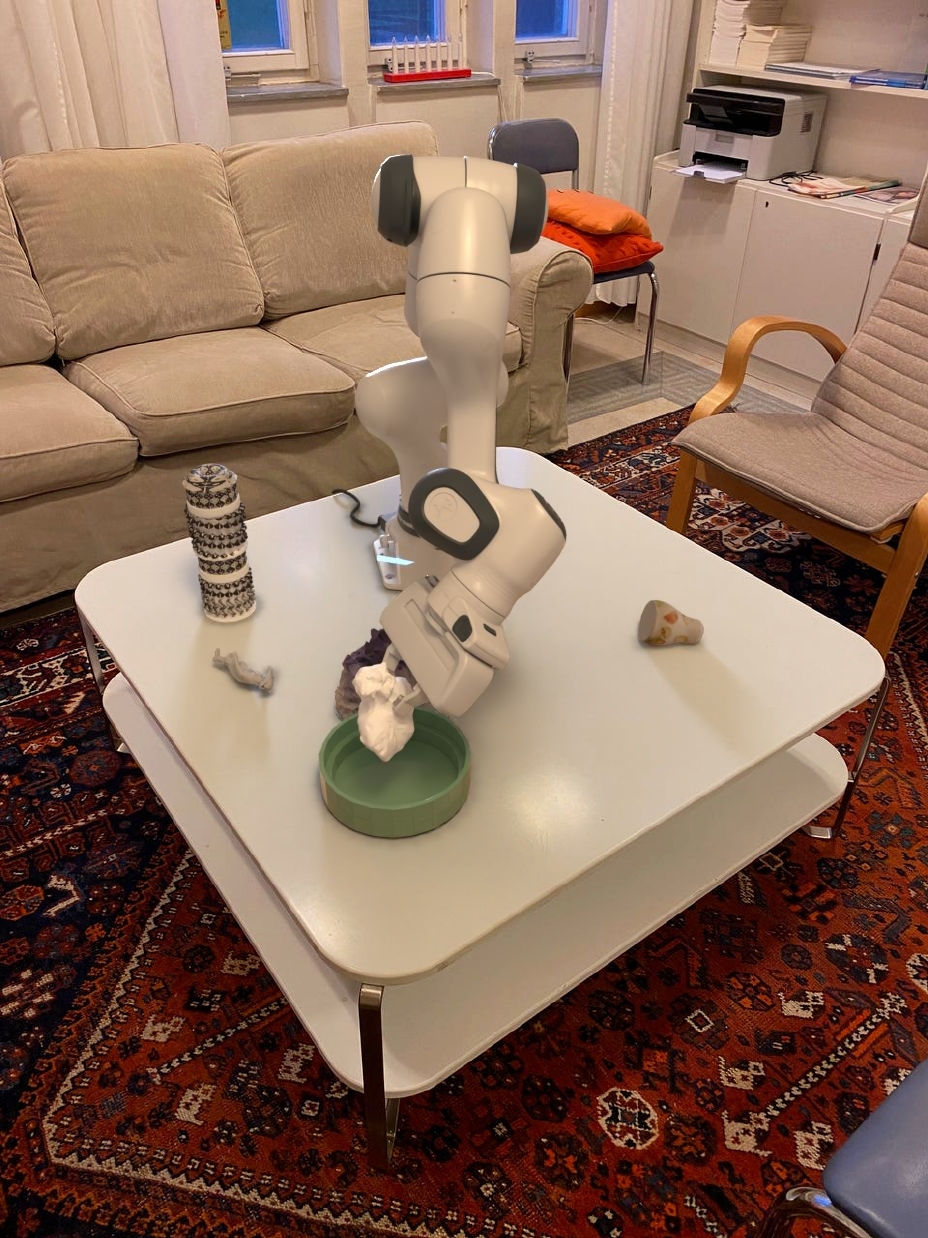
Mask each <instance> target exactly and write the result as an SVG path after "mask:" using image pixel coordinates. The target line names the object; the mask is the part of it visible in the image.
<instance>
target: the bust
mask: <svg viewBox="0 0 928 1238" xmlns="http://www.w3.org/2000/svg"><path fill="white" fill-rule="evenodd" d="M352 684H353V686H354V687H355V690H356V693H357V694H358V695H359V697H360V698H361V700H362V701H361V703H360V705H359V711H358V720H357V723H358V726H359V732H360V735H361V736H360V740H361V742H362V743H363V744H364V745H365V746H366V747H367V748H369V749H370V750H371V751H373V752H375V754H376V755H377V756H378V757H379V758H380V759H381V760H382V761H384V762H387V761H389V760H390V759H391V758H392V757H393V755H394V754H395V753H397V752H399V751H400V750H402V749H403V747H404V745H405V744H406V743H407V741H408V740H409V739H410V737H411V736H412V735H413V732H414V723H413V717H412V714H413V710H414V708H413V709H412V710H411V711H410V712H409V714H408V715H406V716H402V715H400V714H398V713H397V712H396V711H395V709H394V707H393V705H392V703H393V702H394V701H395V700H396V699H397V697H398V696H399V695H400V694H401V695H403V696H407V695H409V694H411V693H412V692H414V691H413V690H412V689H411V685H410V683H408V682H407V679H406V678H404V677H394V676H392V675H391V674H390V673H388V669H387V667H386V663H385V662H383V663H381V664H377V665H373V666H369V667H362V668H360V669H359V671H358V672H357V674H356V676H355V678H354V679H353V681H352Z"/></svg>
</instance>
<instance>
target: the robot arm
mask: <svg viewBox="0 0 928 1238" xmlns="http://www.w3.org/2000/svg"><path fill="white" fill-rule="evenodd" d="M379 166H380V167H379V170H378V172H377V174H376V176H375V178H374V181H373V183H372V184H373V185H372V188H371V194H370V206H371V213H372V216H373V221H374V222H375V224H376V230H377V232H378V233H379V234H380V236H381V237H382V238H383V239H384V240H385V241H387V242H389V243H391V244H393V245H396V246H399V247H403V248H407V247H408V246H409V250H408V259H407V270H406V279H405V280H406V281H405V293H404V294H405V295H404V305H403V306H404V307H403V308H404V309H403V316H404V319H405V321H406V324H407V326H408V328H409V329H410V331H411V332H412V333H413V334H414V335H415V336H416V337H417V338H419V341H420V345H421V347H422V350H423V352H424V354H425V355H423V356H421V357H415V358H412V359H407V360H403V361H399V362H393V363H390V364H386V365H384V366H382V367H380V368H378V369H376V370H374V371H372V372H370V373H367V374H366V375H364V376H363V377H361V379H360V380H359V381H358V384H357V387H356V389H355V394H354V407H355V412H356V416H357V418H358V420H359V422H360V424H361V425H362V426H363V428H364V429H365V430H366V431H367V432H368V433H369V434H370V435H371V436H373V437H374V438H377V439H379V440H380V441H382V442H383V443H385V444H386V445H387V446H388V447H389V449H390V450H391V451H392V453H393V455H394V457H395V459H396V463H397V466H398V473H399V483H400V494H399V497H401V498H399V500H398V501H399V504H398V507H397V510H396V511H393V512H390V513H386V514H380V515H379V516H378V517H377V522H376V523H368V522H365V521H362V520H360V519H358V518H357V517H356V516H355V513H356V512H357V511H358V510H359V508H360V507H361V501H360V499H359V498H358V497H357V496H355V494H353V493H352V492H350V491H348V490H346V489H344V488H343V489H342V488H335V489H333V490H332V491H331V494H333V495H335V494H337V493H340V494H341V493H342V494H344V495H346V496H348V497H349V498H351V499H352V500H353V501H354V502H355V503H356V505H355V506H354V507H353V509H352V510H351V511H350V512H349V513H350V514H349V517H350V519H351V520H352V521H353V522H354V523H356V524H358V525H360V526H363V527H367V528H372V529H373V528H379V527H380V530H381V531H383V532H384V534H380V535H379V538H378V539H376V540H374V542H373V544H372V549H373V552H374V556H375V559H376V564H377V566H378V571H379V573H380V577H381V581H382V584H383V587H384V588H385V589H387V590H392V591H393V590H394V591H400V592H399V594H398V595H396V597H395V598H394V599H392V600H391V602H390V603H388V604H387V606H386V607H385V608H384V609H383V610H382V612H381V614H380V617H379V624H380V625H381V627H382V629H384V630H385V632H386V633H387V635H388V636H389V638H390V640H391V641H392V643H391V644H390V645H389V647H388V648H387V650H386V653H385V655H384V658H383V661H382V663H383V662H385V663H386V667H387V669H388V673H390V674H391V675H392V676H394V677H395V676H396V675H395V673H394V671H395V669H396V667H397V665H398V663H399V661H400V659H401V660H404V662H405V663H406V665H407V666H408V668H409V669H410V671H411V673H412V674H413V676H414V677H415V679H416V680H417V684H416V685H415V686H414V687H413V690H414V692H412V693H411V694H409V695H407V696H403V695H401V694H400V695H399V696H398V697H397V699H396V700H395V701H394V702H393V703H392V705H393V707H394V709H395V711H396V712H397V713H398V714H400V715H402V716H406V715H408V714H409V712H410V711H411V710H412V709H413V708H414V707H417V706H419V707H420V706H422V705H424V704H426V703H427V704H428V703H430V704H431V706H432V707H433V708H434V710H435V711H437V712H438V713H440V714H442V715H444V716H446V717H448V718H452V719H453V718H459V717H461V716H462V715H464V714H465V713H466V712H467V711H468V710H469V709H470V708H471V707H472V706H473V705H474V703H476V701H477V700H478V699H479V697H481V696H482V694H483V693H484V692H485V691H486V689H487V688H488V687H489V685H490V683H491V682H492V680H493V677H494V670H495V669H497V670H499V671H500V670H502V669H504V668H505V667H506V666H507V665H508V663H509V661H510V660H511V656H510V652H509V647H508V644H507V640H506V637H505V633H504V632H505V631H504V626H503V623H504V621H505V620H506V619H507V618H508V617H509V616H510V614H511V612H512V610H513V608H514V606H515V604H517V602H518V601H519V600H520V598H522V597H523V596H524V595H526V594H528V593H529V592H531V591H532V590H533V589H534V588H535V586H536V585H538V583H539V582H540V581H541V580H542V579H543V577H544V576H545V575H546V573H547V572H548V571H549V569H551V568H552V566H553V564H555V562H556V561H557V559H558V558H559V556H560V555H561V553H562V551H563V549H564V548H565V546H566V543H567V536H568V535H567V529H566V526H565V523H564V522H563V521H562V518H561V516H559V514H558V513H557V512H556V511H555V509H554V507H552V505H551V504H550V503H549V502H548V501H547V500H546V499H545V497H544V496H543V495H542V494H541V493H539V492H538V491H537V490H535V489H534V488H531V487H529V488H527V487H526V488H519V487H513V486H508V485H505V484H501V483H500V482H499V478H498V472H497V471H498V470H497V425H498V424H497V421H498V417H497V416H498V411H497V410H498V408H499V407H500V406H502V405H503V404H504V402H505V401H506V399H507V395H508V392H509V388H510V387H509V386H510V385H509V384H510V382H509V381H510V380H509V373H508V369H507V367H506V364H505V362H504V361H503V355H504V349H505V343H506V338H507V331H508V323H509V316H510V315H509V314H510V305H511V303H510V302H511V288H512V287H511V285H512V283H511V282H512V263H511V262H512V260H511V255H517V254H522V253H526V252H529V251H530V250H532V249H533V248H534V247H535V246H536V245H537V244H538V243H539V241H540V239H541V237H542V234H543V232H544V230H545V227H546V224H547V221H548V218H549V217H548V216H549V206H550V205H549V196H548V193H547V186H546V181H545V179H544V178H543V176H542V175H541V173H540V171H539V170H537V169H535V168H534V167H531V166H527V165H525V164H521V163H519V162H518V163H517V162H514V164H509V163H506V162H502V161H497V160H494V159H489V158H488V159H487V158H482V157H477V156H468V155H463V157H462V156H461V157H460V156H448V155H447V156H446V155H445V156H444V155H426V156H425V155H423V156H413V154H412V153H404V154H397V155H391V156H388V157H387V158H386V159H385V160H383V162H382V163H381V164H380V165H379ZM445 427H446V443H445V442H443V441H441V431H442V430H443V428H445ZM494 668H495V669H494Z"/></svg>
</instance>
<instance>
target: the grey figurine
mask: <svg viewBox="0 0 928 1238" xmlns="http://www.w3.org/2000/svg"><path fill="white" fill-rule="evenodd" d="M238 658H239V656H238V653H237V651H236V650H235V651H232V652H230V653H228V655H226V656H221V649H220V647H216V648H215V650H214V656H212V659H211V660H212V662H213V663H214V662H218V663H220V664H223V665H224V666H225V667H226V666H227V668H228V670H229V672H230V675H232V677H233V678H234V680H235V681H237V682H239V683H240V684H249V685H253V686H255V687H258V689H259V690H261V689H262V690H266V691H268V693H269V694H270V693H271V692H272V691H273V690H274V687H275V686H274V683H275V676H274V675H275V674H274V673H273V668H272V667H271V666H270V665H268V666H267V668H268V669H267V673H266V674H265V675H264V674H263V673H261V672H259V671H258V670H255V669H252V668H250V667H249V665H248V664H247V663H246V662H245V661H243V660H239V659H238Z"/></svg>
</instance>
